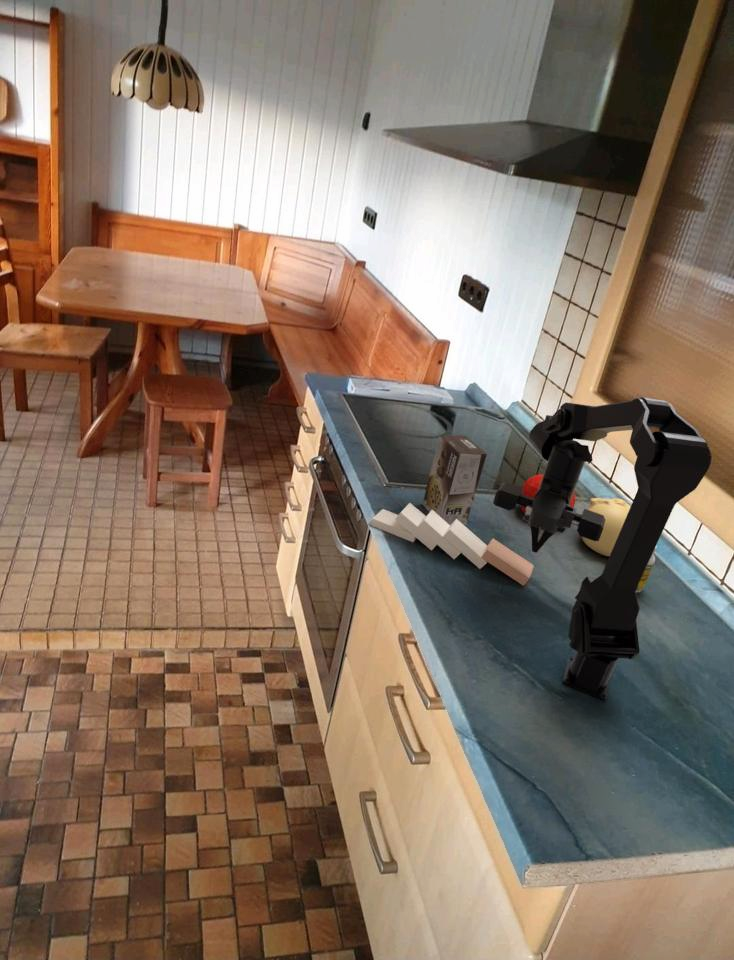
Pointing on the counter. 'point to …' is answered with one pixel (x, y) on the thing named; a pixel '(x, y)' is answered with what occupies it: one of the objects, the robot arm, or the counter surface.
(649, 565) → the supplement bottle
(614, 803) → the counter surface
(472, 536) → the domino
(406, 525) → the domino
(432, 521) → the domino
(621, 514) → the pale yellow round lump
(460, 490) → the coffee box
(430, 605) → the counter surface
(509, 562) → the domino
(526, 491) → the tomato
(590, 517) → the robot arm
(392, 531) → the domino
